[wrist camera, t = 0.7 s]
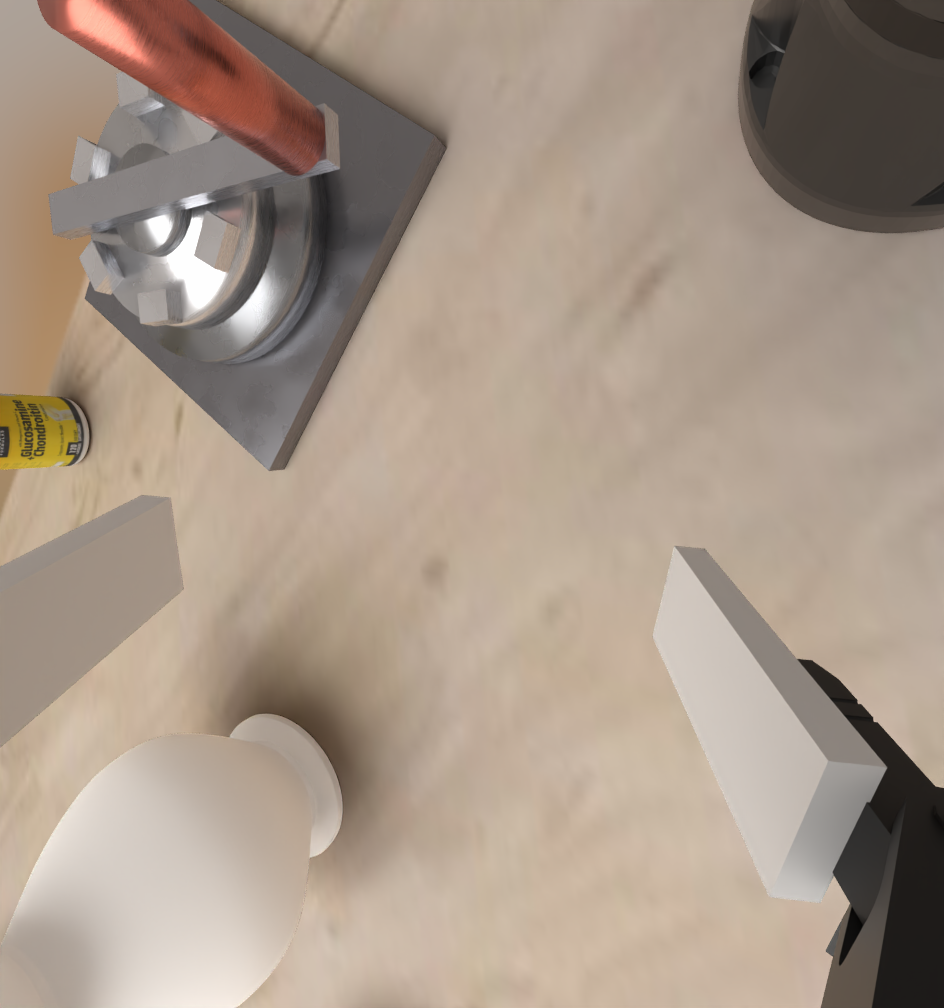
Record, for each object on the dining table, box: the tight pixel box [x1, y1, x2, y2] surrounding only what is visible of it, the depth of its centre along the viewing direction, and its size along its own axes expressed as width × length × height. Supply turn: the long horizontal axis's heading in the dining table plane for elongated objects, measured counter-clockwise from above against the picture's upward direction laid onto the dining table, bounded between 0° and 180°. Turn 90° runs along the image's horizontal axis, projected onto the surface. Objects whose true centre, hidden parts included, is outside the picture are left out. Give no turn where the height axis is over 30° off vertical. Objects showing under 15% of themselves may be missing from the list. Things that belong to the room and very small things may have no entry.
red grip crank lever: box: [37, 0, 340, 330], centre depth 26 cm, size 22×14×14 cm, turn 91°
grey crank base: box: [85, 0, 446, 471], centre depth 36 cm, size 24×24×4 cm
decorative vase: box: [0, 714, 343, 1008], centre depth 32 cm, size 18×18×25 cm
